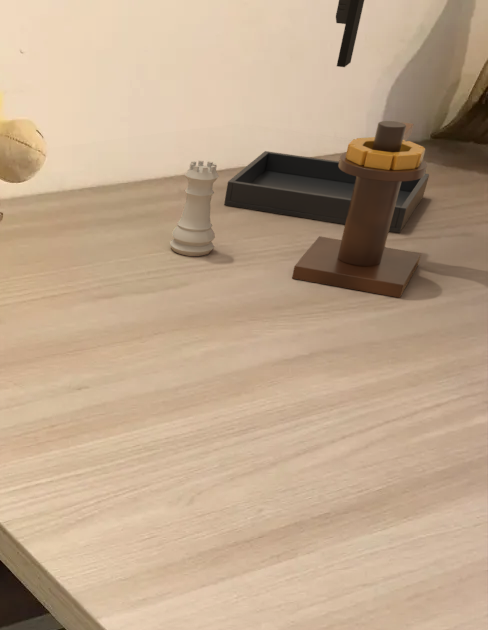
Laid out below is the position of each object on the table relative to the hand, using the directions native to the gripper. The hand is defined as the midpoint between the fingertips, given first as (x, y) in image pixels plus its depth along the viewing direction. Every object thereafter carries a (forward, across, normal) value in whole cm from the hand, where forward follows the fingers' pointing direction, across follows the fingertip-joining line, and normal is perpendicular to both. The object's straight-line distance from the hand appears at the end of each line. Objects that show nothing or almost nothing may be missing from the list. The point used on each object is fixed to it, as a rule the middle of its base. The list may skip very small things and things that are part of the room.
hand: (416, 73), depth 96 cm
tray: (+16, -8, +12) cm, 21 cm away
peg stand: (+16, 0, -10) cm, 18 cm away
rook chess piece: (+16, -16, -12) cm, 25 cm away
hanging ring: (+6, 0, -6) cm, 8 cm away
